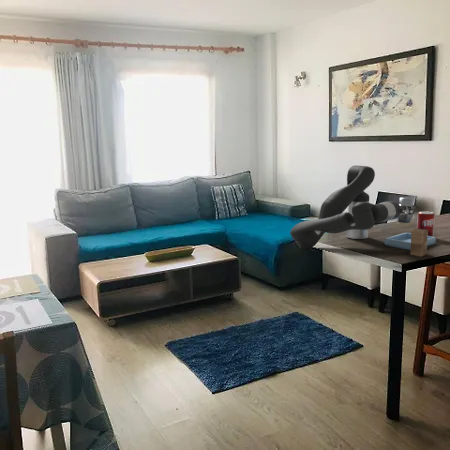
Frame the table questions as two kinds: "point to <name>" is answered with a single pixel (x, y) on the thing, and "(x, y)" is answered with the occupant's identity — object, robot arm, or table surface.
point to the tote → (405, 241)
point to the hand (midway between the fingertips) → (408, 207)
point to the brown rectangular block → (419, 242)
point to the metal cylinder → (404, 201)
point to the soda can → (426, 221)
